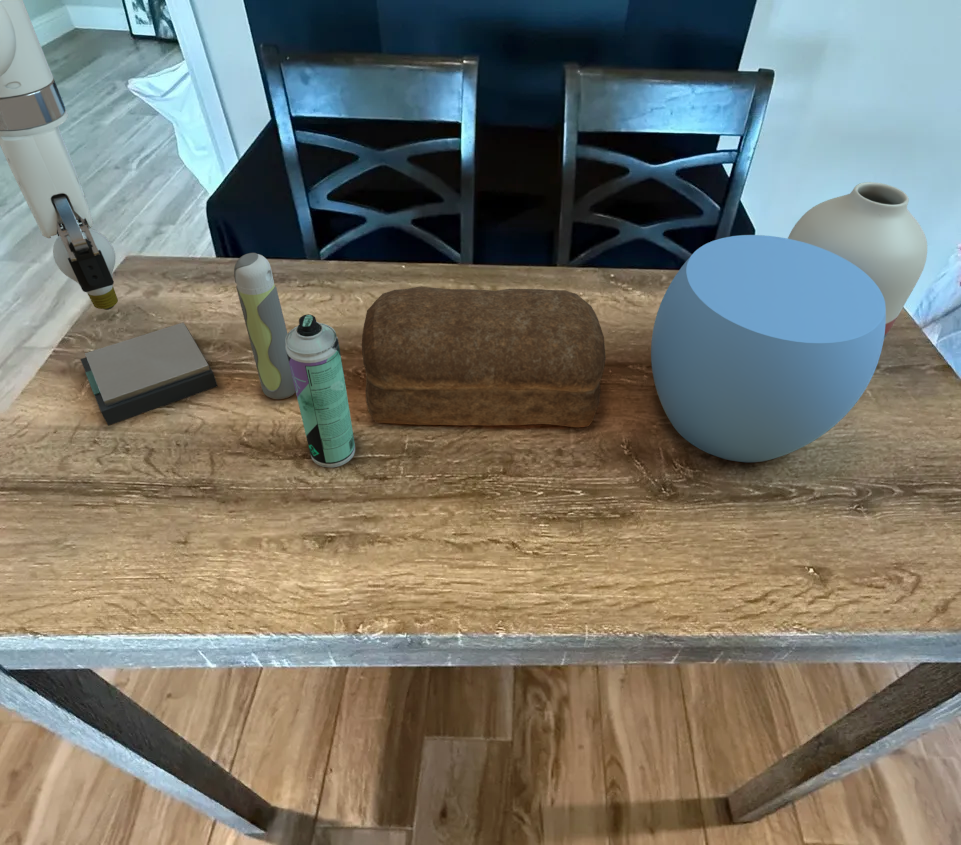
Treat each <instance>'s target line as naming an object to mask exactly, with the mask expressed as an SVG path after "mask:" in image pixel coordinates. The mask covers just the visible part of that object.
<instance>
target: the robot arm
mask: <svg viewBox="0 0 961 845" xmlns="http://www.w3.org/2000/svg"><path fill="white" fill-rule="evenodd" d="M67 119H69V113H68V110H67V108H66V106H65V104H64V101H63V98H62V95H61V93H60V90H59V88H58V85H57V82H56V80H55V78H54V75H53V73H52V71H51V67H50V65H49V63H48V61H47V57H46V55H45V53H44V50H43V48H42V45H41V43H40V41H39V38H38V35H37V33H36V30H35V28H34V25H33V23H32V21H31V17H30V15H29V13H28V10H27V8H26V5H25V2H24V0H0V148H1V151H2V154H3V155H4V158H5V159H6V163H7V164H8V166H9V169H10V171H11V173H12V175H13V177H14V179H15V181H16V183H17V185H18V187H19V190H20V191H21V193H22V196H23V198H24V200H25V202H26V204H27V207H28V208H29V211H30V213H31V214H32V216H33V218H34V221H35V222H36V225H37V227H38V229H39V232H40V233H41V235H42V236H43V237H45V239H52V237H54V236H57V237H58V236H60V237H61V239H62V241H63V244H64V246H65V248H66V250H67V252H68V255H69V257H70V258H68V261H69V263H70V265H71V267H72V269H73V271H74V273H75V276H76V278H77V280H78V282H79V284H80V285H79V284H78V285H79V286H80V288H81V290H82V292H84V293H87V292H89V291H93V290H96V289H100V288H104V287H107V286H111V285H113V286H114V284H115V282H114V278H113V279H112V277H113V275H112V276H111V274H110V271H109V269H108V267H107V264H106V262H105V260H104V257H103V255H102V253H101V250H98V249H97V247H96V244H95V242H94V240H93V238H92V235H91V233H90V231H89V228H91V229H92V227H93V226H94V220H93V216H92V213H91V209H90V207H89V203H88V200H87V198H86V195H85V192H84V189H83V186H82V183H81V180H80V178H79V174H78V172H77V169H76V166H75V164H74V162H73V159H72V157H71V154H70V151H69V149H68V146H67V144H66V142H65V138H64V137H63V134H62V132H61V129H60V127H59V126H61V125H62V124H63V123H65V122H66V121H67ZM82 232H84V233H85V235H86V239H85V238H84V236H83V233H82ZM66 236H69V237H70V239H71V241H72V242H70V244H69V241H68V239H67V237H66Z"/></svg>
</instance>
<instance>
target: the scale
mask: <svg viewBox="0 0 961 845" xmlns="http://www.w3.org/2000/svg"><path fill="white" fill-rule="evenodd" d="M80 361H81V364H82V367H83V369H84V372H85V375H86V378H87V381H88V383H89V385H90V389H91V391H92V394H93V396H94V398H95V400H96V404H97V406H98V408H99V411H100V413H101V415H102V417H103V419H104V421H105V423H106V425H107V426H108V427H109V426H111V425H115V424H117V423H120V422H123V421H125V420H129V419H131V418H134V417H137V416H139V415H143V414H145V413H147V412H150V411H153V410H157V409H158V408H159V409H160V408H161V407H165V406H167V405H170V404H173V403H176V402H179V401H181V400H184V399H187V398H189V397H193V396H195V395H198V394H201V393H204V392H206V391H209V390H211V389H214V388H217V387H219V386H218V382H217V380H216V377H215V373H214V371H213V369H212V368H211V366H210V364H209V362H208V361H207V360H206V358H205V356H204V354H203V353H202V351H201V349H200V347H199V346H198V344H197V342H196V340H195V339H194V337H193V335H192V334H191V332H190V330H189V328H188V327H187V326H186V324H185V322H180V323H176V324H174V325H171V326H167V327H164V328H161V329H157V330H154V331H151V332H148V333H144V334H141V335H139V336H136V337H132V338H129V339H126V340H123V341H120V342H116V343H114V344H110V345H107V346H104V347H100V348H97V349H94V350H91V351H88V352H84V357H82V358H80Z"/></svg>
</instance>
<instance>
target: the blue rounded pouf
mask: <svg viewBox="0 0 961 845" xmlns="http://www.w3.org/2000/svg"><path fill="white" fill-rule="evenodd" d="M885 323H886V307H885V300H884V297H883V295H882V293H881V291H880V289H879V288H878V286H877V285H876V283H875V282H874V281H873V280H872V279H871V278H870V277H869V276H868V275H867V274H866V273H865V272H863V271H862V270H861V269H860V268H858V267H857V266H855V265H854V264H852V263H851V262H849V261H847V260H846V259H844V258H842V257H840V256H838V255H836V254H834V253H832V252H830V251H827V250H825V249H822V248H820V247H817V246H814V245H811V244H808V243H804V242H800V241H796V240H792V239H788V237H787V238H786V237H780V236H773V235H763V234H760V235H759V234H741V235H732V236H726V237H722V238H717V239H715V240H714V239H713V240H712V241H710V242H707V243H705V244H703V245H702V246H700V247H698V248H697V249H696V250H695V251H694V252H693V253H692V254H691V255H690V256H689V257H688V259H687V260H686V261H685V262H684V263H683V265H681V267H680V268H679V270H678V271H677V272H676V274H675V275H674V277H673V279H672V281H671V282H670V283H669V285H668V287H667V289H666V291H665V293H664V295H663V297H662V299H661V302H660V304H659V306H658V309H657V313H656V315H655V320H654V323H653V328H652V335H651V344H650V363H651V370H652V377H653V378H652V379H653V384H654V387H655V390H656V394H657V396H658V399H659V401H660V404H661V406H662V408H663V411H664V413H665V415H666V417H667V419H668V420H669V422H670V423H671V425H672V427H673V428H674V429H675V431H676V432H677V433H678V434H679V435H680V436H681V437H682V438H683V439H684V440H685V441H687V442H688V443H689V444H691V445H692V446H694V447H695V448H697V449H699V450H701V451H702V452H705V453H707V454H709V455H712V456H714V457H717V458H720V459H723V460H726V461H727V460H728V461H732V462H736V463H737V462H738V463H760V462H767V461H770V460H774V459H779V458H781V457H784V456H787V455H788V454H792V453H793V452H795V451H798V450H800V449H801V448H804V447H806V446H809V444H811V443H813V442H814V441H816V440H818V439H819V438H821V437H822V436H824V435H825V434H827V432H829V431H830V430H832V429H833V428H834V427H835V426H836V425H837V424H838V423H840V421H842V420H843V419H844V418H845V417H846V416H847V415H848V413H850V411H851V410H852V409H853V408H854V406H855V405H856V404H857V403H858V402H859V400H860V398H862V396H863V394H864V392H865V391H866V389H867V388H868V386H869V384H870V382H871V380H872V379H873V376H874V374H875V372H876V369H877V367H878V364H879V361H880V358H881V354H882V350H883V345H884V341H885V339H884V334H885Z"/></svg>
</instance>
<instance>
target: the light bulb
mask: <svg viewBox="0 0 961 845" xmlns="http://www.w3.org/2000/svg"><path fill="white" fill-rule="evenodd" d="M89 231H90V233H91V235H92V238H93V240H94V242H95V244H96V247H97V249H98V250H101V253H102V255H103V257H104V260H105V262H106V264H107V267H108V269H109V271H110V274H111V276H112V279H113V280H114V278H113V272H114V269H115V266H116V259H117V258H116V251H115V249H114V246H113V245H112V243H111V241H110V240H109V239H108V238H107V237H106V236H105V235H104V234H103V233H101V232H99V231H98V230H96V229H93V228H92V227H91V228H89ZM82 233H83V236H84V238H85V239H86V235H85V233H84V232H82ZM56 237H57V238H56V239H55V241H54V243H53V247H52V255H53V260H54V263H55V264H56V266H57V268H58V269H59V271H61V273H62V274H64V275H65V276H66V277H67V278H68V279H71V280H73V281H74V282H75V283H77V284H78V285H79V286H80V284H79V282H78V280H77V278H76V276H75V273H74V271H73V269H72V267H71V265H70V263H69V261H68V258H70V257H69V255H68V252H67V250H66V248H65V246H64V244H63V241H62V239H61V237H60V236H58V235H57V236H56ZM66 237H67V239H68V241H69V244H70V242H72V241H71V239H70V237H69V236H66ZM86 294H87V296H88V298H89V299H90V302H91V304H92V305H93V307H94V308H95V309H98V310H104V311H109V310H112V309H113V308H114V307H115V306H116V305H117V304H118V301H119V299H118V296H117V293H116V290H115V288H114V284H113V285H111V286H107V287H104V288H100V289H96V290H93V291H89V292H86Z"/></svg>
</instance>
